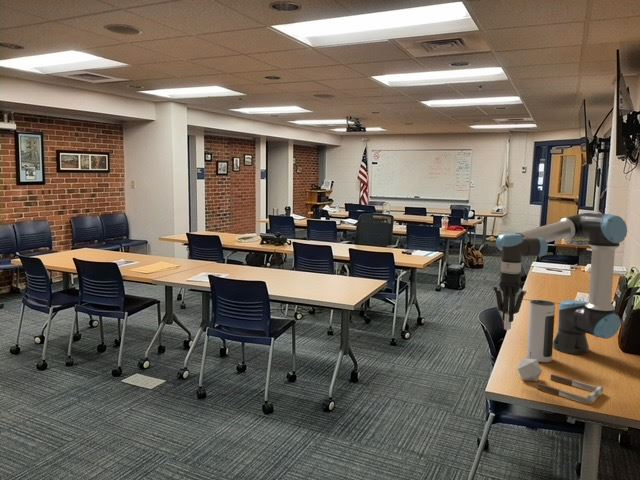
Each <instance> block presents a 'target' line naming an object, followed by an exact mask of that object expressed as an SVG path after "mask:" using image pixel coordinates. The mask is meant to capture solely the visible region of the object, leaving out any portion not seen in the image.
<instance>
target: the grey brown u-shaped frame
mask: <svg viewBox="0 0 640 480" xmlns="http://www.w3.org/2000/svg"><path fill="white" fill-rule="evenodd" d="M550 380H551V381H555V382H558V383H560V384H565V385H567V386H572V387H576V388H578V389H582V390H585V391H589V392H590V394H588V395H587V396H583V395H581V394H580V395H579V394H576V393H573V392H569V391H565V390H563V389H559V388H556V387H553V386H549V385H546V384H543V383H540V382H538V383H537V385H536V389H537V390H538V391H539V390H540V391H542V392H546V393H550V394H552V395H556V396H559V397H562V398H566V399H568V400H573V401H575V402H578V403H580V404H584V405H588V406H591V405H592V404H593V403H594V402H595V401H596V400H597V399H599V398H600V397H601V395H603V393H604V385H601V384H600V385H599V386H595V385H592V384H588V383H584V382H581V381H578V380H574V379H570V378H567V377H564V376H560V375H556V374H553V373H552V374H550Z"/></svg>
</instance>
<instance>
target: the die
mask: <svg viewBox="0 0 640 480" xmlns="http://www.w3.org/2000/svg"><path fill="white" fill-rule="evenodd" d="M539 363H540V362H538V361H537V359H528V358H527V357H526V358H525V357H522V359H521V360H520V362H519V364H518V367H517V371H518V373H519V376H520V378H521V380H522V381H528V382H537V381H538V380H539V378H540V376H541V374H542V372H543V369H542V367H541V365H540V364H539Z"/></svg>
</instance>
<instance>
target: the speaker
mask: <svg viewBox="0 0 640 480" xmlns="http://www.w3.org/2000/svg"><path fill="white" fill-rule="evenodd" d="M528 311H529V314H528V315H529V316H528V330H527V331H528V333H527V348H526V350H527V351H526V358H527V359H537V361H538V363H549V362H552V360H553V349H554V348H553V341H554V331H555V314H556V303H555V302H553V301H550V300H543V299H533V300H530V301H529V310H528Z"/></svg>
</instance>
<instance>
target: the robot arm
mask: <svg viewBox="0 0 640 480" xmlns="http://www.w3.org/2000/svg"><path fill="white" fill-rule="evenodd" d="M627 235H628V226H627V224H626V221H625V220H624V219H623V218H622V217H621V216H619V215H615V214H611V213H610V214H609V213H593V212H585V213H580V214H575V215H571V216H567V217H564V218H563V217H562V218H561V219H560V220H559V221H557V222H554V223H550V224H545V225H542V226H538V227H534V228H530V229H526V230H522V231H519V232H515V233H502V234H500V235H498V237H497V238H496V240H495V246H496V247H497V249H498V250H500V251H501V260H500V261H501V265H500V281H499V284H498V285H496V286H494V287H493V291H494V293H495V298H496V303H497V309H498V311H500V312H502V321H504V323H503V324H504V325H503V329H504V330H507V331H509V330H510V329H512V323H513V322H514V317H515V315H516V314H519V312H520V310H521V306H522V304H523V300H524V297H525V296H526V295H527V291H526V290H523V289H522V286H521V271H522V261H523V259H522V258H525V257H527V258H530V257H531V258H533V257H536V258H537V257H542V256H544V255H546V254H547V252H548V249H549V246H548V245H549V244H548V243H550V242H554V241H557V240H562V239H566V240H568V239H569V240H570V239H574V238H575V239H586V240H588V246H589V247H590V248H591V262H590V263H591V265H590V280H589V294H588V296H589V297H588V302H587V301H583V300H564V301H561V302H560V304H559V309H558V327H557V328H558V329H557V332H556V334H555V337H554V338H553V349H555V350H556V351H559V352H561V353H566V354H570V355H585V354H588V353H589V352H590V346H589V342H588V339H587V334H589V335H591V336H594V337H595V338H600V339H604V340H609V339H611V338H613V337H614V336H615V335H616V334H617V333H618V332H619V330H620V328H621V323H622V322H621V318H620V316H619V315H618V314H616V313H615V311H616V308H615V306H613V303H612V299H613V296H612V295H613V283H614V281H613V280H614V270H615V257H616V256H615V253H616V249H618V248H619V247H620V243H622V242H623V241H625V239H626V237H627ZM517 294H518V296H517ZM516 296H517V299H516Z"/></svg>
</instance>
